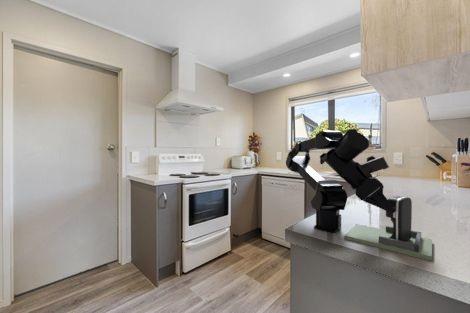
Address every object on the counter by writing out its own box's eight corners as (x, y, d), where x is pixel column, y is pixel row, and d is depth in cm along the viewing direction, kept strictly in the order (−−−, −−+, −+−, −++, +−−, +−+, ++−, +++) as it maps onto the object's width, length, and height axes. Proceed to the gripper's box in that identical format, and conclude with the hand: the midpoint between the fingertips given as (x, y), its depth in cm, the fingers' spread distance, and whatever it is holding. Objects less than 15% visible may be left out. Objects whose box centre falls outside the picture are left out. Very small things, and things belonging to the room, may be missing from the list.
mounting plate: (344, 238, 60) (344, 229, 60) (356, 227, 69) (356, 219, 69) (431, 261, 47) (431, 249, 47) (432, 243, 57) (432, 233, 57)
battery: (395, 234, 60) (395, 194, 60) (411, 239, 57) (412, 196, 57) (383, 240, 56) (383, 197, 56) (400, 245, 53) (401, 199, 53)
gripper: (372, 145, 51) (431, 194, 47) (364, 147, 68) (406, 184, 63) (335, 176, 55) (387, 225, 50) (336, 171, 72) (375, 207, 67)
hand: (390, 208), depth 58 cm, fingers open, 9 cm apart
